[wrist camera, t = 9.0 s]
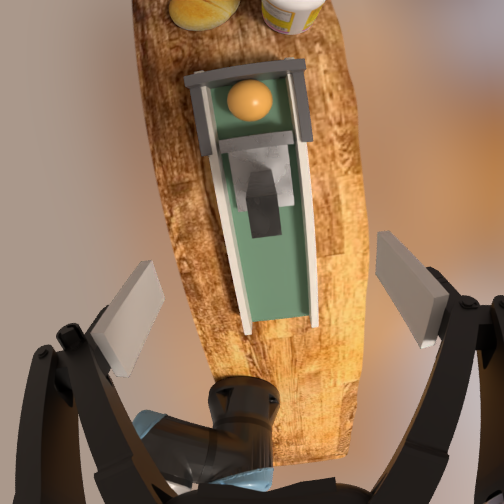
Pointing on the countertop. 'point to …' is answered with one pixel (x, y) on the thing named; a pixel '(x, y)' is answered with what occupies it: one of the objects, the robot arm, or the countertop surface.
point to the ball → (249, 100)
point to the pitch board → (291, 217)
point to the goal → (242, 73)
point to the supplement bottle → (290, 14)
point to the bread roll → (201, 13)
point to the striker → (261, 178)
